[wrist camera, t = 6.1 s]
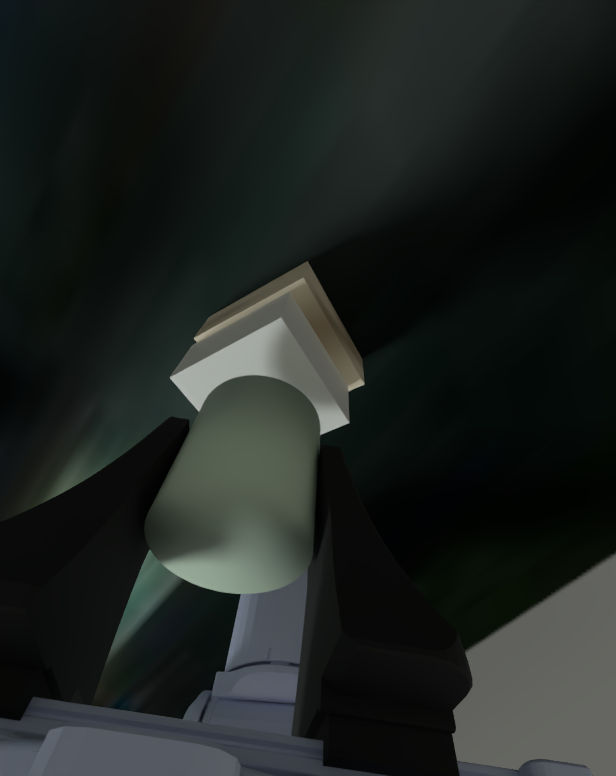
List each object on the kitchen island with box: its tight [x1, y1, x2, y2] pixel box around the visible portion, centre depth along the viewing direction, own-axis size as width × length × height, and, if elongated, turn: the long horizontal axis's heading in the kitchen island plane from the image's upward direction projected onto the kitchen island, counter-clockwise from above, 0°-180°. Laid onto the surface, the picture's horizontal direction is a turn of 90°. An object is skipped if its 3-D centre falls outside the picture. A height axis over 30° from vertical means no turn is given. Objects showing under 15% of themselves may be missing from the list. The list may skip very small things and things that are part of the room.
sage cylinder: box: [144, 375, 321, 594], centre depth 13 cm, size 4×4×5 cm
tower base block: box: [194, 261, 365, 391], centre depth 21 cm, size 6×6×3 cm
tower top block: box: [170, 291, 349, 435], centre depth 18 cm, size 6×6×3 cm
